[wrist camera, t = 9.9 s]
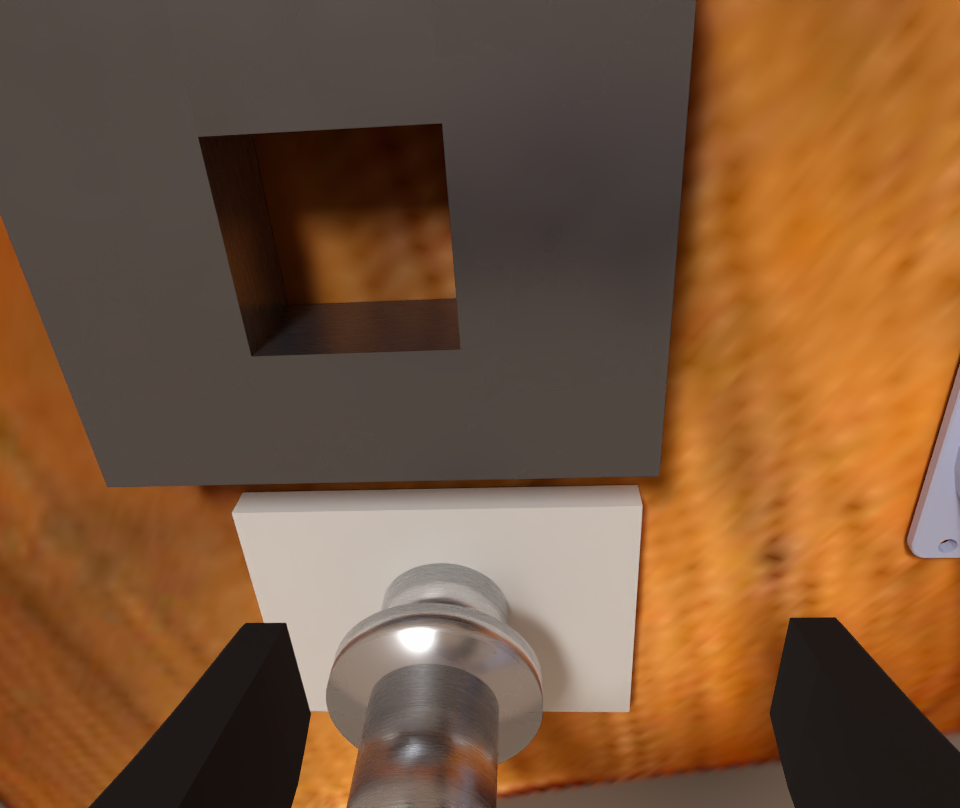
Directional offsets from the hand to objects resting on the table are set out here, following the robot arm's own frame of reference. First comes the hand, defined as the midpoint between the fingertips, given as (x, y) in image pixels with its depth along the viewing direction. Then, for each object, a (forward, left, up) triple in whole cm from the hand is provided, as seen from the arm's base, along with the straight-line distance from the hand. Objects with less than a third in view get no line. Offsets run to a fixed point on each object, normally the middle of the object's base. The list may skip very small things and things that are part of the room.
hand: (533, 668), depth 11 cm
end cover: (+3, +9, -9) cm, 13 cm away
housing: (+4, -4, -10) cm, 12 cm away
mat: (+3, +9, -10) cm, 14 cm away
